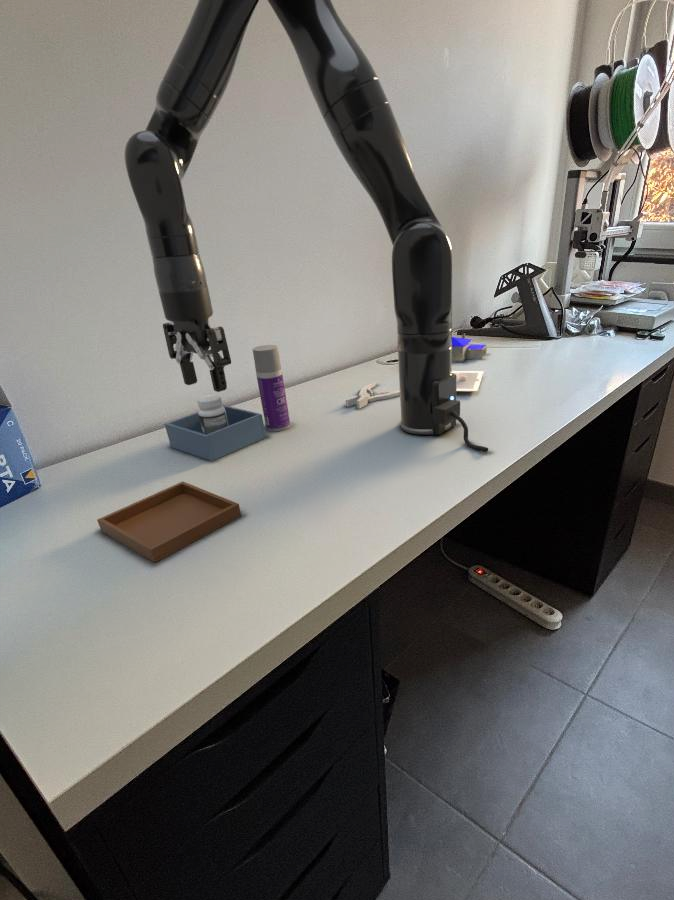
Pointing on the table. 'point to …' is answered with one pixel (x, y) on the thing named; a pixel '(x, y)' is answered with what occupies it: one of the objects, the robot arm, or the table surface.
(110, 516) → the tray
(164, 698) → the table surface
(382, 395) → the pliers
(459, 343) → the house
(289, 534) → the table surface
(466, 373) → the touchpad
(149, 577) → the table surface
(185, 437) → the storage box
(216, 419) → the pill bottle
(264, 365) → the container
